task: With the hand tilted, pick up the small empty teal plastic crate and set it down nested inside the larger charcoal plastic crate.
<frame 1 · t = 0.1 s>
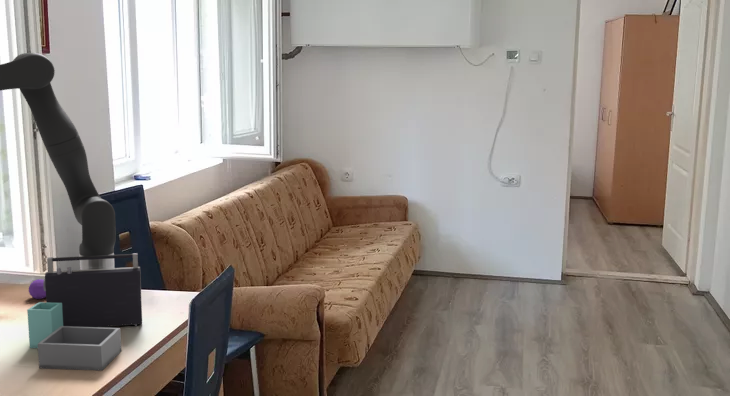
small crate: (47, 343, 186), on the table
kendama: (65, 297, 225), on the table
radio: (95, 327, 200), on the table
big crate: (81, 359, 177), on the table
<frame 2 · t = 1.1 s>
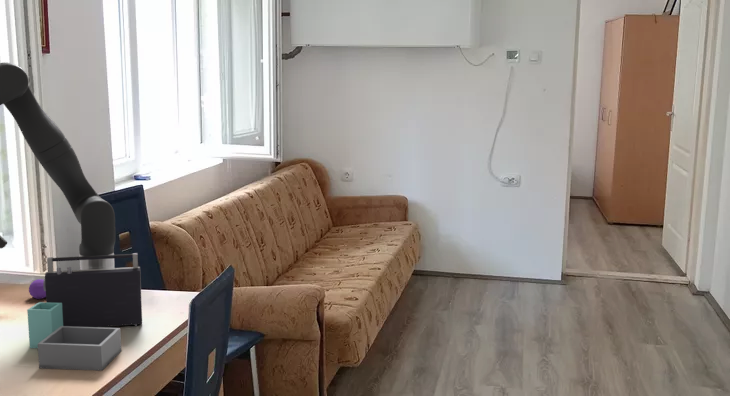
nothing on the table moved.
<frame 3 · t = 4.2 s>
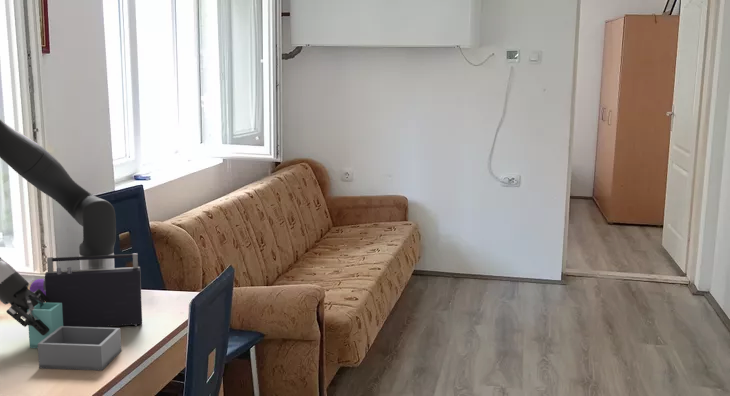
hand: (52, 327, 186), 4 cm above the table, tool tilted 45°, fingers closed on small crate, 6 cm apart
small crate: (47, 343, 186), on the table, touching gripper
everything else where it was.
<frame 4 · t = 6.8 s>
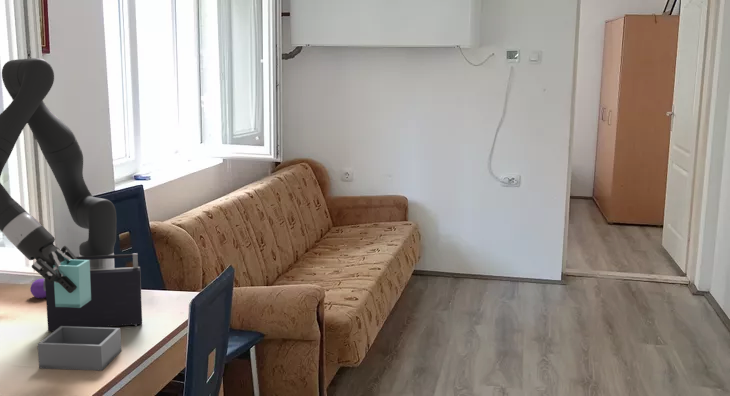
hand: (80, 286, 174), 18 cm above the table, tool tilted 45°, fingers closed on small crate, 6 cm apart
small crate: (73, 303, 175), point 14 cm above the table, touching gripper
everything else where it was.
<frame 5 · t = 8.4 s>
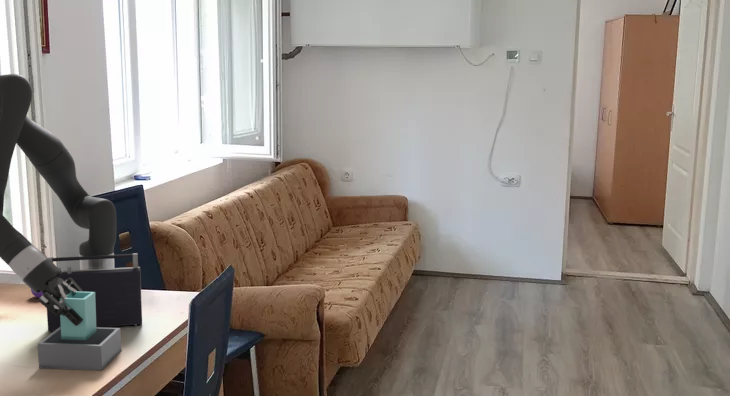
hand: (85, 318, 175), 10 cm above the table, tool tilted 45°, fingers closed on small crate, 6 cm apart
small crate: (79, 335, 176), point 6 cm above the table, touching gripper
everything else where it was.
when the fingers open (7 cm above the table, at t = 9.7 s): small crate drops 1 cm, resting on big crate.
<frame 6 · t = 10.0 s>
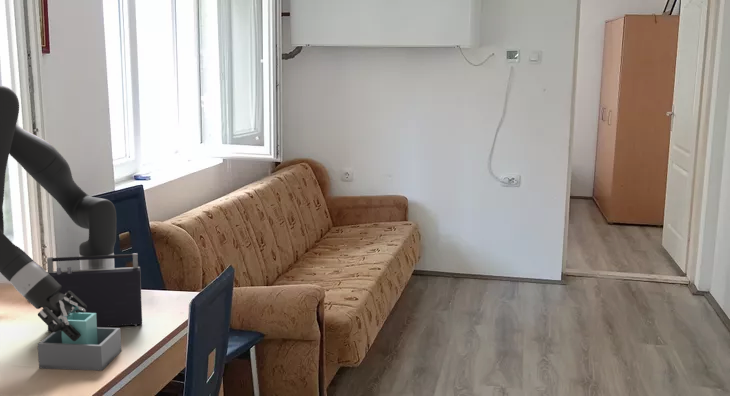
hand: (85, 332, 176), 7 cm above the table, tool tilted 45°, fingers open, 8 cm apart
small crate: (80, 356, 177), point 1 cm above the table, touching big crate
everything else where it was.
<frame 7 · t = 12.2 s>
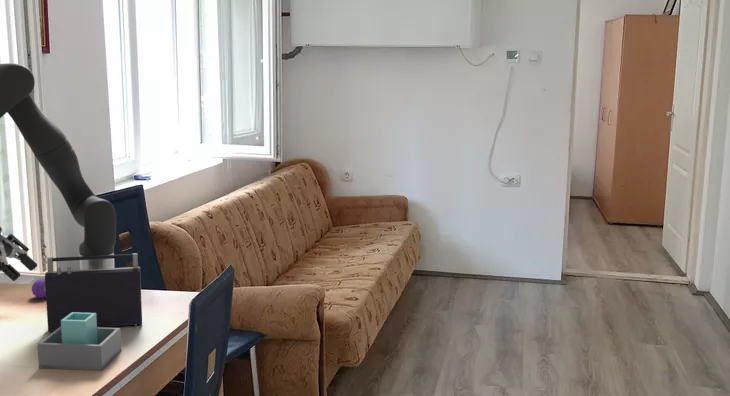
hand: (26, 273, 178), 20 cm above the table, tool tilted 45°, fingers open, 8 cm apart
nothing on the table moved.
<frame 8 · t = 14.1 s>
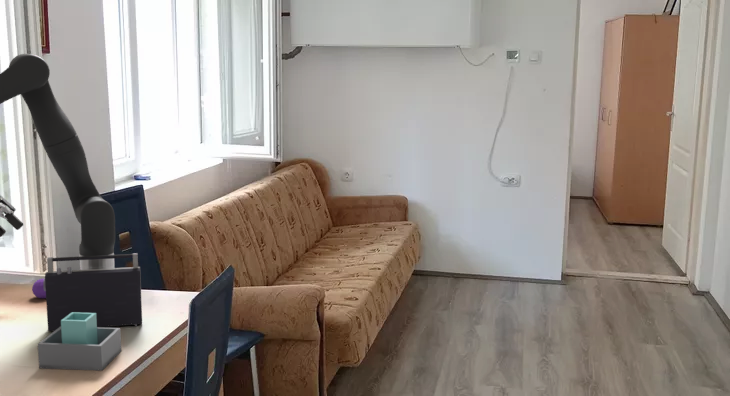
hand: (12, 231, 184), 29 cm above the table, tool tilted 45°, fingers open, 8 cm apart
nothing on the table moved.
at the end: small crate inside the target area on the big crate (0.1 cm from its centre), point 0.8 cm above the big crate's base; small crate tilted 0°; the gripper is holding nothing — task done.
